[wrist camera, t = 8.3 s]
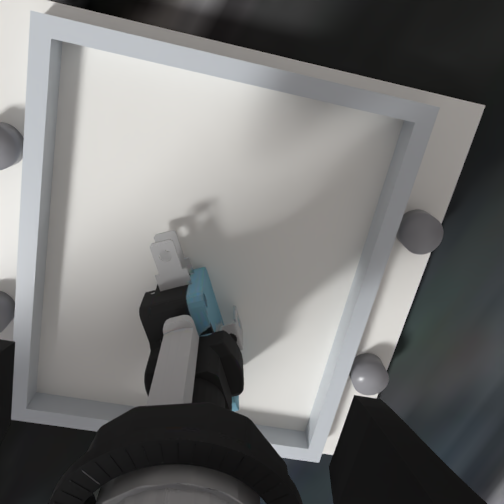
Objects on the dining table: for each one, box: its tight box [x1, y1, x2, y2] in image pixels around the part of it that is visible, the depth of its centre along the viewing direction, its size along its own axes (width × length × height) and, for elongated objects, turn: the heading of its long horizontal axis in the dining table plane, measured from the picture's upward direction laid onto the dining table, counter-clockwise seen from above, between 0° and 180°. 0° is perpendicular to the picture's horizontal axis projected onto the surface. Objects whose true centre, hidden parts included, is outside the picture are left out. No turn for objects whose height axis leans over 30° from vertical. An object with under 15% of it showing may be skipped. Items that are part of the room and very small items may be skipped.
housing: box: [0, 0, 485, 463], centre depth 17 cm, size 16×15×2 cm
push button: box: [48, 230, 303, 504], centre depth 13 cm, size 7×5×10 cm
